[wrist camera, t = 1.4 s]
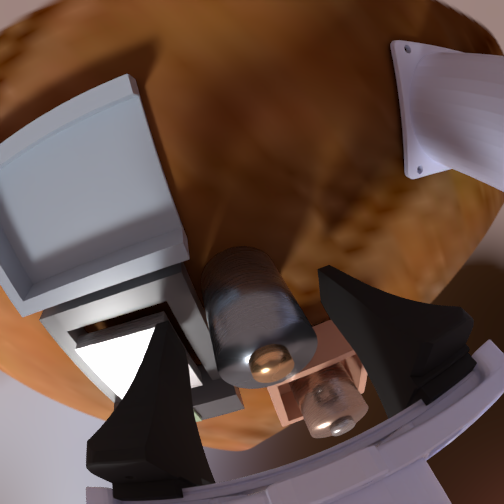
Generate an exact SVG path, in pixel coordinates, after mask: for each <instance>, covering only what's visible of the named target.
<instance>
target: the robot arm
mask: <svg viewBox="0 0 504 504" xmlns="http://www.w3.org/2000/svg"><path fill="white" fill-rule="evenodd" d="M404 47H405V48H406V51H405V49H404ZM390 49H391V53H392V58H393V64H394V69H395V75H396V81H397V88H398V95H399V102H400V111H401V121H402V132H403V147H404V171H405V175H406V176H407V177H408V178H410V179H416V178H420V177H423V176H427V175H430V174H434V173H438V172H442V171H445V170H449V169H454V170H457V171H459V172H462V173H464V174H466V175H469V176H471V177H473V178H475V179H478V180H480V181H482V182H484V183H486V184H489V185H491V186H493V187H495V188H497V189H499V190H501V191H503V192H504V56H498V55H488V54H476V53H464V52H460V51H456V50H452V49H448V48H443V47H439V46H434V45H428V44H423V43H417V42H410V41H403V40H395V41H392V42H391V44H390ZM417 168H418V170H417ZM318 277H319V287H320V298H321V303H322V304H323V306H324V308H325V310H326V312H327V314H328V315H329V317H330V319H331V320H332V321H333V323H334V324H335V325H336V327H337V328H338V330H339V331H340V332H341V334H342V335H343V336H344V338H345V339H346V340H347V342H348V343H349V344H350V346H351V347H352V348H353V350H354V351H355V353H356V354H357V356H358V357H359V359H360V361H361V363H362V364H363V366H364V368H365V370H366V372H367V374H368V376H369V377H370V379H371V381H372V383H373V385H374V387H375V389H376V391H377V393H378V396H379V398H380V400H381V402H382V404H383V407H384V409H385V411H386V414H387V415H388V420H386V421H384V422H382V423H381V424H379V425H377V426H375V427H373V428H371V429H369V430H367V431H365V432H363V433H361V434H360V435H357V436H355V437H353V438H351V439H349V440H347V441H345V442H343V443H340V444H338V445H336V446H334V447H331V448H329V449H327V450H324V451H322V452H319V453H317V454H314V455H312V456H309V457H307V458H304V459H301V460H299V461H296V462H293V463H290V464H287V465H284V466H281V467H278V468H275V469H271V470H268V471H264V472H261V473H258V474H254V475H250V476H246V477H242V478H238V479H234V480H229V481H224V482H219V483H215V481H214V478H213V475H212V473H211V470H210V468H209V465H208V462H207V459H206V456H205V453H204V450H203V446H202V443H201V439H200V436H199V432H198V428H197V424H196V420H195V416H194V410H193V403H192V393H191V383H190V372H189V365H188V360H187V355H186V351H185V348H184V346H183V344H182V343H181V341H180V339H179V338H178V336H177V334H176V332H175V331H174V329H173V327H172V326H171V324H170V322H169V320H167V321H164V322H160V323H157V324H156V326H155V328H154V331H153V333H152V336H151V339H150V341H149V344H148V347H147V349H146V352H145V354H144V357H143V359H142V362H141V364H140V366H139V368H138V370H137V373H136V375H135V377H134V379H133V381H132V383H131V385H130V387H129V388H128V390H127V392H126V394H125V395H124V397H123V398H122V400H121V401H120V403H119V404H118V406H117V407H116V409H115V410H114V412H113V413H112V414H111V416H110V417H109V418H108V419H107V421H106V422H105V423H104V424H103V425H102V426H101V428H100V429H99V430H98V431H97V432H96V433H95V434H94V435H93V436H92V437H91V438H90V439H89V440H88V441H87V454H86V455H87V456H86V467H87V469H88V470H89V471H90V472H91V473H93V474H94V475H96V476H98V477H100V478H102V479H104V480H107V481H109V482H111V483H112V485H113V489H111V488H104V487H86V500H87V501H86V502H87V504H451V502H450V500H449V499H448V497H447V496H446V494H445V492H444V490H443V488H442V487H441V485H440V483H439V482H438V480H437V479H436V477H435V475H434V474H433V472H432V470H431V469H430V467H429V465H428V464H427V462H426V460H427V459H429V458H430V457H432V456H433V455H435V454H436V453H437V452H439V451H440V450H441V449H442V448H444V447H445V446H446V445H448V444H449V443H450V442H451V441H453V440H454V439H455V438H456V437H457V436H459V435H460V434H461V433H462V432H463V431H465V430H466V429H467V428H468V427H469V426H470V425H471V424H472V423H474V422H475V421H476V420H477V419H478V418H479V417H480V416H481V415H482V414H483V413H484V412H485V411H486V410H487V409H488V408H490V406H492V405H493V404H494V402H495V401H496V400H497V399H498V398H499V397H500V396H501V395H502V393H503V392H504V354H503V353H502V352H501V351H500V350H499V348H498V347H497V346H496V345H495V344H494V343H493V342H492V341H491V340H488V341H487V342H485V343H484V344H483V345H482V346H481V347H480V348H479V349H478V350H477V351H476V352H475V353H474V354H473V355H472V356H471V355H470V354H469V353H468V352H469V347H468V346H467V345H466V342H467V339H468V337H469V335H470V333H471V331H472V328H473V322H474V321H473V318H472V317H471V316H470V315H469V314H468V313H466V312H465V311H464V310H463V309H462V308H461V307H455V306H441V305H433V304H427V303H422V302H417V301H413V300H409V299H405V298H401V297H398V296H395V295H392V294H389V293H387V292H384V291H381V290H379V289H377V288H374V287H372V286H370V285H368V284H365V283H363V282H361V281H359V280H357V279H355V278H353V277H351V276H349V275H347V274H346V273H344V272H342V271H340V270H338V269H336V268H334V267H332V266H330V265H328V266H325V267H322V268H320V269H318ZM378 444H379V445H378ZM376 445H378V446H376ZM263 490H264V491H263ZM259 491H261V492H259ZM255 492H258V493H255ZM251 493H255V494H252V495H247V494H251Z"/></svg>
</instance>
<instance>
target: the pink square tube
mask: <svg viewBox="0 0 504 504" xmlns="http://www.w3.org/2000/svg"><path fill="white" fill-rule="evenodd" d="M312 328H313V329H314V331H315V333H316V335H317V340H318V345H317V349H316V352H315V354H314V356H313V358H312V359H311V361H310V362H309V363H308V364H307V365H306V366H305V367H304V368H303V369H302V370H301V371H300V372H299V373H297V374H296V375H294V376H293V377H291V378H289V379H287V380H285V381H283V382H281V383H278V384H275V385H272V386H268V387H267V389H268V392H269V394H270V397H271V399H272V402H273V404H274V407H275V410H276V412H277V415H278V417H279V420H280V422H281V425H282V427H283V426H286V425H289V424H291V423H294V422H297V421H299V420H302V419H304V418H303V416H302V413H301V411H300V409H299V406H298V404H297V402H296V400H295V397H294V395H293V393H292V390H291V388H290V386H289V383H288V382H291V381H293V380H296V379H299V378H301V377H304V376H306V375H309V374H311V373H314V372H316V371H319V370H321V369H323V368H326V367H328V366H330V365H333V364H335V363H337V362H340V361H341V363H342V365H343V366H344V368H345V370H346V371H347V373H348V374H349V376H350V378H351V379H352V381H353V383H354V384H355V386H356V387H357V389H358V391H359V392H360V394H362V393H364V389H365V384H366V379H367V372H366V370H365V368H364V366H363V364H362V363H361V361H360V359H359V357H358V356H357V354H356V353H355V351H354V350H353V348H352V347H351V346H350V344H349V343H348V342H347V340H346V339H345V338H344V336H343V335H342V334H341V332H340V331H339V330H338V328H337V327H336V325H335V324H334V323H333V321H332V320H328V321H326V322H323V323H321V324H318V325H316V326H313V327H312Z"/></svg>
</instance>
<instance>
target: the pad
mask: <svg viewBox="0 0 504 504" xmlns="http://www.w3.org/2000/svg"><path fill="white" fill-rule="evenodd" d="M167 320H169V319H168V317H167V315H166V314H165V312H164V311H162V312H159V313H156V314H152V315H149V316H146V317H142V318H139V319H136V320H133V321H129V322H126V323H123V324H119V325H116V326H112V327H109V328H106V329H102V330H99V331H95V332H92V333H88V334H85V335H81V336H79V338H78V341H77V345H76V349H75V350H76V351H77V352H78V353H79V355H80V356H81V357H82V358H83V359H84V360H85V361H86V363H87V364H88V365H89V366H90V367H91V368H92V369H93V370H94V371H95V372H96V374H97V375H98V376H99V377H100V378H101V379H102V380H103V381H104V382H105V383H106V384H107V385H108V386H109V387H110V388H111V389H112V390H113V391H114V392H115V393H116V394H117V395H118V396H119V397H120V398H121V399H122V398H123V397H124V395H125V394H126V392H127V390H128V388H129V387H130V385H131V383H132V381H133V379H134V377H135V375H136V373H137V370H138V368H139V366H140V364H141V362H142V359H143V357H144V354H145V352H146V349H147V347H148V344H149V341H150V339H151V336H152V333H153V331H154V328H155V326H156V324H157V323H160V322H164V321H167ZM169 322H170V321H169ZM170 324H171V322H170ZM171 326H172V324H171ZM172 327H173V326H172ZM173 329H174V328H173ZM174 331H175V329H174ZM175 332H176V331H175ZM176 334H177V333H176ZM177 336H178V334H177ZM178 338H179V336H178ZM179 339H180V338H179ZM180 341H181V340H180ZM181 343H182V341H181ZM182 344H183V343H182ZM183 346H184V345H183ZM184 348H185V346H184ZM185 351H186V355H187V360H188V365H189V372H190V383H191V388H194V387H198V386H201V385H203V383H202V377H201V372H200V370H199V369H198V367H197V366H196V364H195V362H194V361H193V359H192V358H191V356H190V354H189V353H188V351H187V349H186V348H185Z"/></svg>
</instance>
